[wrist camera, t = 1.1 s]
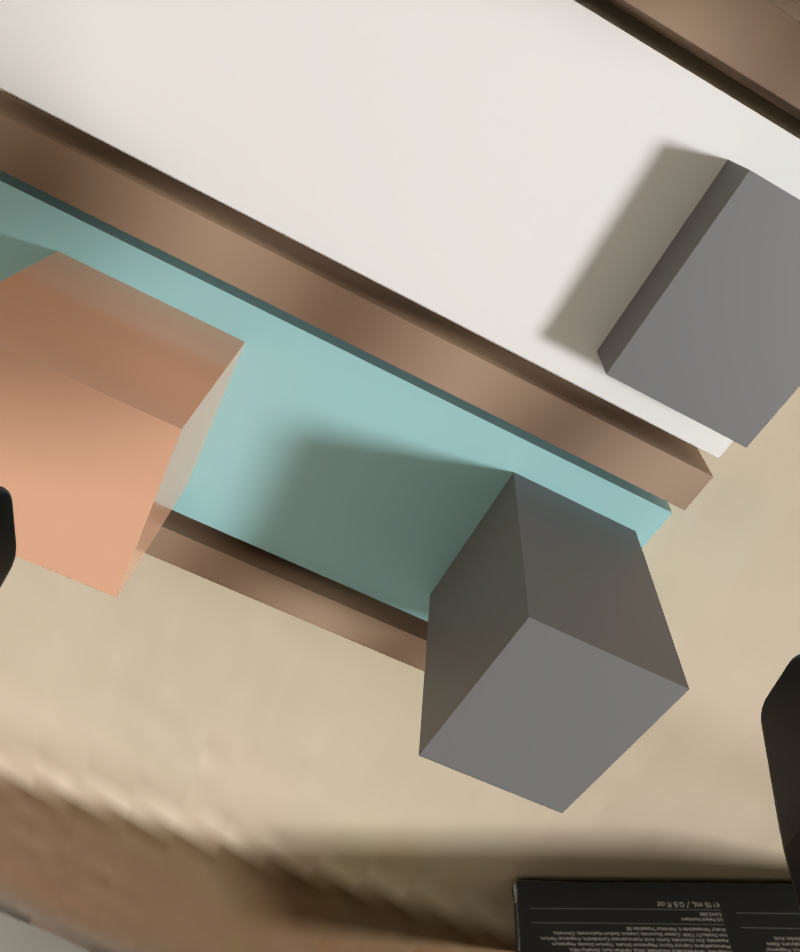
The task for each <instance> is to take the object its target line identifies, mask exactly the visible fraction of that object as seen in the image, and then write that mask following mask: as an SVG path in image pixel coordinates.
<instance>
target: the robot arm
mask: <svg viewBox="0 0 800 952" xmlns="http://www.w3.org/2000/svg"><path fill="white" fill-rule="evenodd" d="M15 555H16V535H15V524H14V512H13V501H12V497H11V494H10V492H9V491H8V490H7V489H6V488H4V487H2V486H0V587H1V585H2V584H3V582H4V580H5V578H6V577H7V575H8V573H9V571H10V569H11V567H12V565H13V562H14V559H15ZM761 723H762V730H763V736H764V741H765V747H766V753H767V759H768V765H769V771H770V777H771V783H772V789H773V794H774V800H775V806H776V812H777V818H778V824H779V829H780V834H781V839H782V844H783V849H784V853H785V857H786V861H787V865H788V869H789V873H790V877H791V880H792V884H793V888H794V891H795V895H796V898H797V902H798V906H799V909H800V654H799V655H797V656H795V657H794V658H793V659H792V660H791V661H790V662H789V664H788V665H787V667H786V668H785V670H784V672H783V673H782V675H781V676H780V678H779V679H778V681H777V682H776V684H775V685H774V687H773V689H772V690H771V692H770V693H769V695H768V696H767V698H766V700H765V702H764V704H763V707H762V713H761Z"/></svg>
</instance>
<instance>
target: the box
mask: <svg viewBox="0 0 800 952" xmlns="http://www.w3.org/2000/svg"><path fill="white" fill-rule="evenodd" d="M512 892H513V902H514V917H515V934H516V952H800V909H799V906H798V902H797V898H796V895H795V891H794V888H793V884H785V883H672V882H661V883H648V882H563V881H534V880H518V881H515V883H514V885H513V887H512Z"/></svg>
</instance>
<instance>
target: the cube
mask: <svg viewBox="0 0 800 952" xmlns="http://www.w3.org/2000/svg"><path fill="white" fill-rule="evenodd" d="M244 344H245V341H242V340H240V339H238V338H236V337H234V336H232V335H230V334H228V333H226V332H224V331H222V330H220V329H218V328H216V327H214V326H212V325H209V324H207V323H205V322H203V321H201V320H199V319H197V318H195V317H193V316H191V315H189V314H187V313H185V312H183V311H181V310H179V309H176V308H174V307H172V306H170V305H168V304H166V303H164V302H162V301H160V300H158V299H156V298H154V297H152V296H150V295H148V294H146V293H143V292H141V291H139V290H137V289H135V288H133V287H131V286H129V285H127V284H125V283H123V282H121V281H119V280H117V279H115V278H113V277H110V276H108V275H106V274H104V273H102V272H100V271H98V270H96V269H94V268H92V267H90V266H88V265H86V264H84V263H82V262H80V261H77V260H75V259H73V258H71V257H69V256H67V255H65V254H63V253H61V252H59V251H57V252H56V253H54V254H52V255H50V256H48V257H46V258H44V259H42V260H40V261H38V262H36V263H35V264H33V265H31V266H29V267H27V268H25V269H23V270H21V271H19V272H17V273H15V274H13V275H12V276H10V277H8V278H6V279H4V280H2V281H0V486H2V487H4V488H6V489H7V490H8V491H9V492H10V494H11V497H12V501H13V512H14V524H15V535H16V555H15V556H17V557H20V558H22V559H25V560H27V561H30V562H32V563H34V564H37V565H39V566H42V567H44V568H47V569H49V570H51V571H54V572H56V573H59V574H61V575H64V576H66V577H69V578H71V579H73V580H76V581H78V582H81V583H83V584H86V585H88V586H90V587H93V588H95V589H98V590H100V591H103V592H105V593H107V594H110V595H112V596H115V597H117V596H118V595H119V593H120V591H121V590H122V588H123V587H124V585H125V583H126V582H127V580H128V579H129V577H130V576H131V574H132V572H133V571H134V569H135V568H136V566H137V564H138V563H139V561H140V560H141V558H142V556H143V555H144V553H145V552H146V550H147V548H148V547H149V545H150V544H151V542H152V540H153V539H154V537H155V536H156V534H157V532H158V531H159V529H160V528H161V526H162V524H163V523H164V521H165V520H166V518H167V517H168V515H169V513H170V512H171V510H172V509H173V507H174V505H175V504H176V502H177V501H178V499H179V497H180V496H181V494H182V493H183V491H184V489H185V488H186V486H187V484H188V481H189V479H190V476H191V474H192V471H193V469H194V467H195V464H196V462H197V459H198V457H199V454H200V452H201V449H202V447H203V445H204V442H205V440H206V437H207V435H208V432H209V430H210V427H211V425H212V423H213V420H214V418H215V415H216V413H217V410H218V408H219V405H220V403H221V400H222V398H223V396H224V393H225V391H226V388H227V386H228V383H229V381H230V378H231V376H232V374H233V371H234V369H235V366H236V364H237V361H238V359H239V356H240V354H241V352H242V349H243V347H244Z"/></svg>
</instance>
